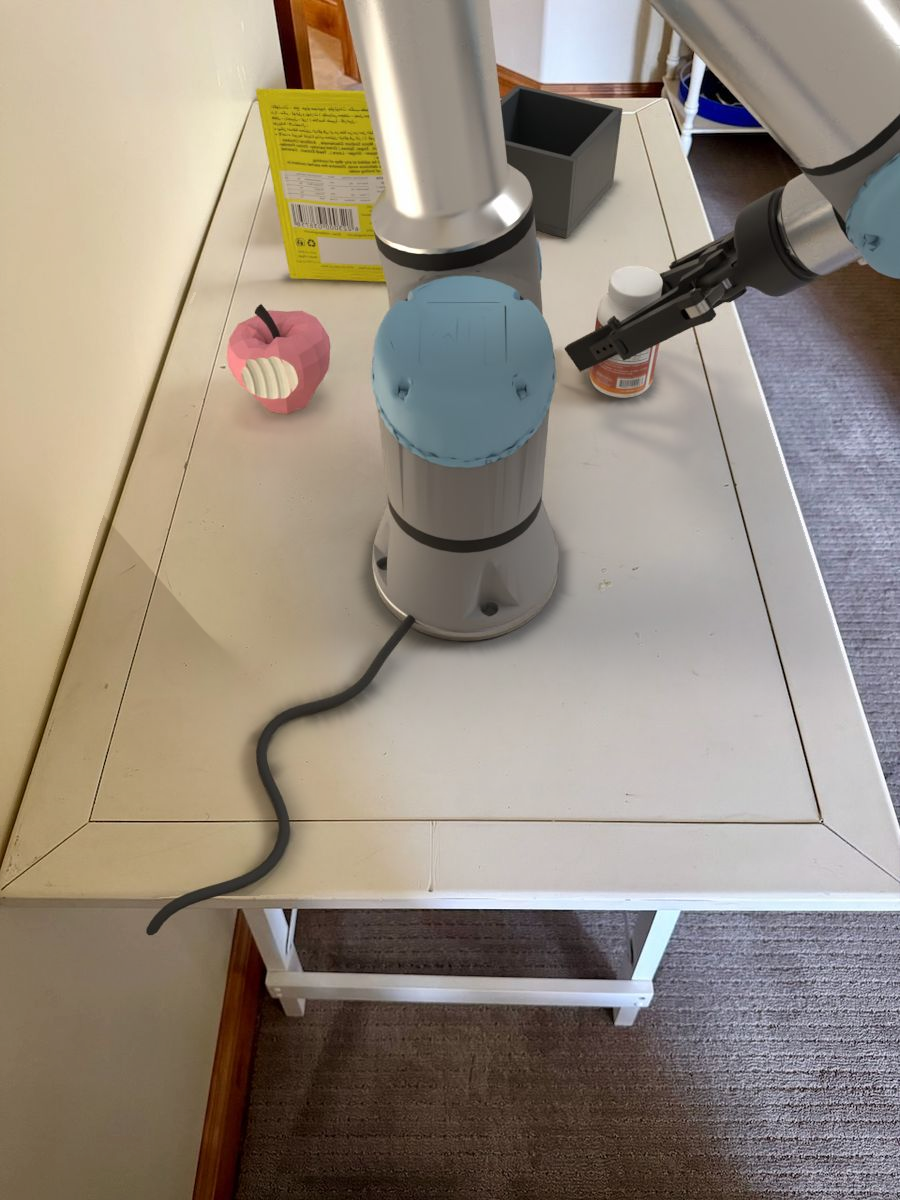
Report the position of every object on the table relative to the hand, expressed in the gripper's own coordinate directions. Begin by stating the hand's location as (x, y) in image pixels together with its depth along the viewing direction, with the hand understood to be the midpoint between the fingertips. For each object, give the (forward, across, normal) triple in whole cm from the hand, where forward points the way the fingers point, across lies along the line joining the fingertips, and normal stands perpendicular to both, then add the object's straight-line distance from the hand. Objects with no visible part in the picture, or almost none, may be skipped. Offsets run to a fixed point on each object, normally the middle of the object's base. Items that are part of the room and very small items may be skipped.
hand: (591, 339), depth 87 cm
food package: (+23, 0, +18) cm, 29 cm away
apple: (+18, -20, +13) cm, 30 cm away
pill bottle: (0, 0, -5) cm, 5 cm away
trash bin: (+17, +25, +12) cm, 33 cm away
